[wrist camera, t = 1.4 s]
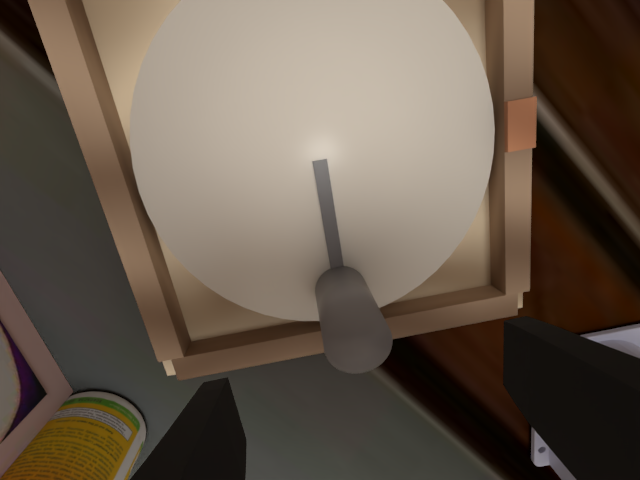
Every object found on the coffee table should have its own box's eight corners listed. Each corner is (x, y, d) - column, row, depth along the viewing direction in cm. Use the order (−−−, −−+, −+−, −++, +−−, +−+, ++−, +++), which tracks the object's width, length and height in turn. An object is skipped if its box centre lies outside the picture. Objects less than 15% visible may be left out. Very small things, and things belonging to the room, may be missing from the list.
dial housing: (505, 295, 20) (542, 322, 17) (176, 358, 20) (156, 397, 17) (502, -117, 14) (556, -181, 12) (39, -45, 14) (-27, -92, 11)
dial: (85, -11, 13) (-49, -106, 8) (477, -73, 13) (593, -203, 8) (195, 336, 17) (155, 420, 12) (486, 280, 18) (565, 340, 13)
